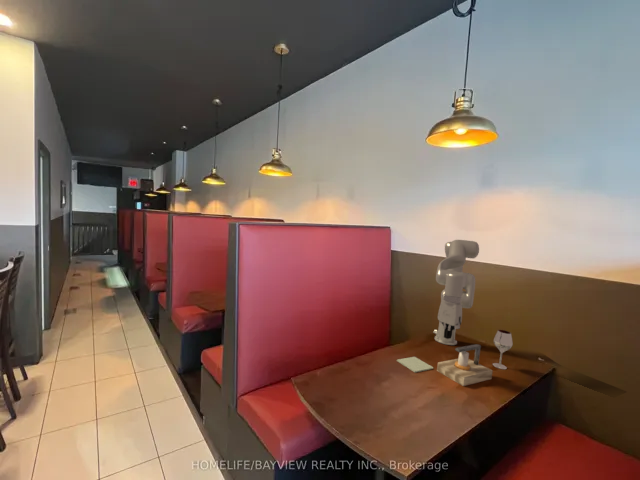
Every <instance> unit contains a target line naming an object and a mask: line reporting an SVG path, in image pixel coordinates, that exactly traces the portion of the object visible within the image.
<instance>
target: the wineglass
mask: <svg viewBox="0 0 640 480" xmlns="http://www.w3.org/2000/svg"><path fill="white" fill-rule="evenodd" d="M493 344H494V346H495V347H496V348H497V349H498V350H499V352H500V353H499V354H500V355H499V356H500V357H499V362H494V363H493V362H492V366H493V367H495V368H496V369H500V370H507V368H508V367H507V366H505V365H504V364H502V360H503V359H502V358H503V353H505V352H506V351H509V350H511V348H512V347H513V337H512V332H510V331H508V330H505V329H504V330H503V329H497V331H496V333H495V336H494V338H493Z"/></svg>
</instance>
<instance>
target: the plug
mask: <svg viewBox="0 0 640 480" xmlns="http://www.w3.org/2000/svg"><path fill="white" fill-rule="evenodd" d="M469 356H470V353H469V351H464V352H458V358H457V359H458V361H456V362H455V367H457V368H459V369H461V370H470V365H469V364H468V359H469V358H470V357H469Z"/></svg>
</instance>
